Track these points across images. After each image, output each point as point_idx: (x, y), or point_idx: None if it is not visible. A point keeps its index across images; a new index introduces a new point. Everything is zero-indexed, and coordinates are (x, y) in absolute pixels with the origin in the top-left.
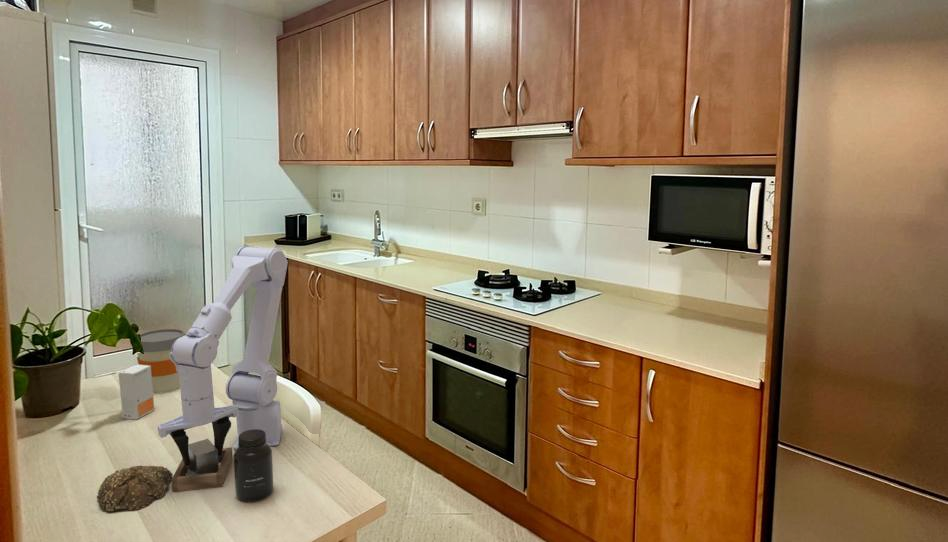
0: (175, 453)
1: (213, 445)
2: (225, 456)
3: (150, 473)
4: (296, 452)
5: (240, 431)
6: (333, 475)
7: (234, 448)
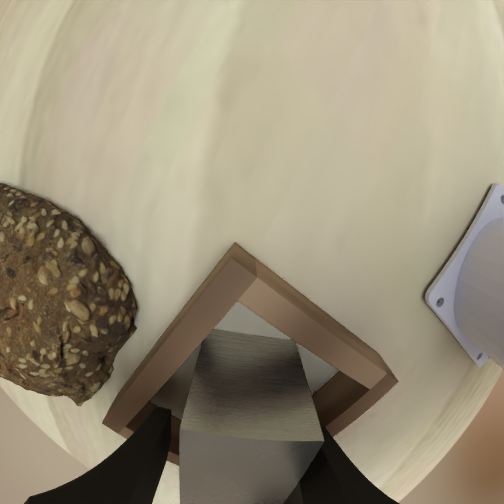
0: (241, 96)
1: (287, 494)
2: (329, 430)
3: (36, 363)
4: (456, 415)
5: (492, 315)
6: (395, 495)
7: (426, 300)
